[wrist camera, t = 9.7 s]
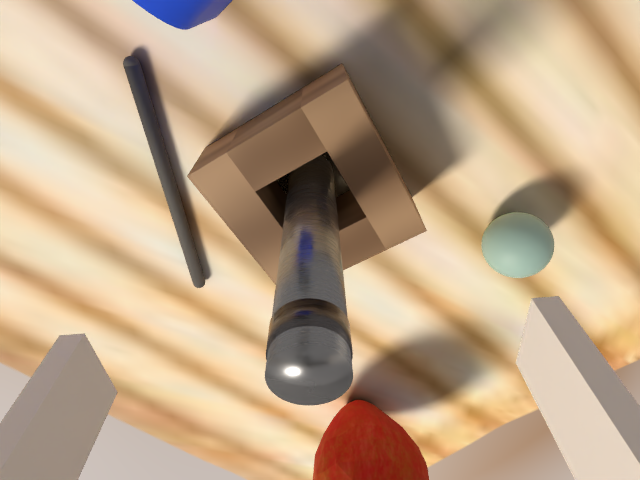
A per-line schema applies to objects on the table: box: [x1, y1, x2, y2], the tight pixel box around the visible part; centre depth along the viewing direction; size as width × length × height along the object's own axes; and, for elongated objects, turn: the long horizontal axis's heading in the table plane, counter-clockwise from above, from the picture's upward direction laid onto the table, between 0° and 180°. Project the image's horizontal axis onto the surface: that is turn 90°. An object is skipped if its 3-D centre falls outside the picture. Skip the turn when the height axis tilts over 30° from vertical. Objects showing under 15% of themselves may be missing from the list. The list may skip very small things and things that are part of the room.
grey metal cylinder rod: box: [265, 155, 353, 405], centre depth 19 cm, size 3×3×15 cm
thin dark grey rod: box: [123, 56, 205, 288], centre depth 25 cm, size 15×1×1 cm, turn 5°
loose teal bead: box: [482, 212, 554, 278], centre depth 26 cm, size 4×4×4 cm
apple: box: [313, 400, 429, 480], centre depth 32 cm, size 9×8×11 cm
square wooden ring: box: [187, 64, 427, 285], centre depth 23 cm, size 9×9×4 cm
